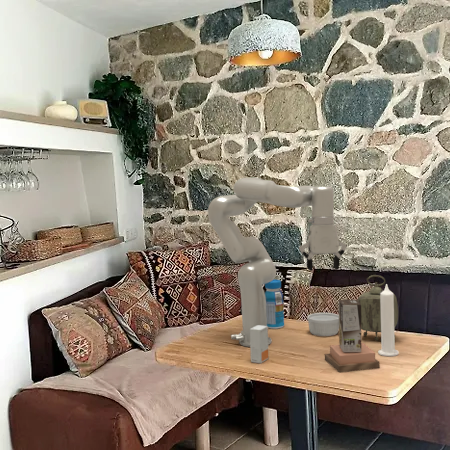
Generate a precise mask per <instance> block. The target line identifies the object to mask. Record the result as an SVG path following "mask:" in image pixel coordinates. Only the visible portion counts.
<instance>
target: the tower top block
mask: <svg viewBox="0 0 450 450" xmlns="http://www.w3.org/2000/svg"><path fill="white" fill-rule="evenodd" d="M329 353H330V354H331V355H332V357H333V358H334V359H335V360H336V361H337V362H338V363H339V364H340V365H341V364H353V363H366V362H376V360H377V359H376V352H375V351H374V350H372V348H370V347H369V346H368V345H366V343H364V342H361V352H343V351H342V349H341V347H340V345H339V344H333V345H332V344H331V345H329Z"/></svg>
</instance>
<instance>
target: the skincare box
mask: <svg viewBox="0 0 450 450" xmlns="http://www.w3.org/2000/svg"><path fill="white" fill-rule="evenodd" d="M268 337H269V328H268V326H261V325H257V326H255V327H253V328H251V329H250V347H249V348H250V362H251V363H257V364H262V363H264V362H265V361H267V360H269V359H270V358H269V357H270V355H269V345H268Z"/></svg>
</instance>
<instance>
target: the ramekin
mask: <svg viewBox="0 0 450 450" xmlns="http://www.w3.org/2000/svg"><path fill="white" fill-rule="evenodd" d="M307 321H308V329H309V332H310V333H311V335H313V336H317V337H332V336H335V335H337V334H339V314H336V313H332V312H315V313H311V314H309V315H307Z"/></svg>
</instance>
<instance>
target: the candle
mask: <svg viewBox="0 0 450 450" xmlns="http://www.w3.org/2000/svg"><path fill="white" fill-rule="evenodd" d="M384 287H385V288H384V290H383V292H381V293H380V304H381V332H380V335H381V339H380V341H381V349H378V351H377V354H378V355H380V356H382V357H396V356H399V353H400V352H399V350H397V349H396V344H395V342H396V341H395V340H396V339H395V337H396V336H395V337H394V335H395V328H394V295H395V294H394V292H392V291H391V290H390V289H389V286H388V284H387V283H386V284H385V286H384ZM393 294H394V295H393Z"/></svg>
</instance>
